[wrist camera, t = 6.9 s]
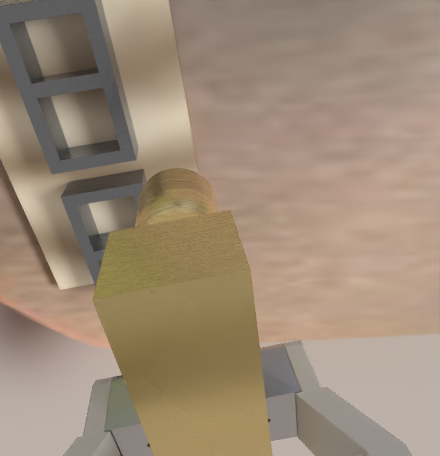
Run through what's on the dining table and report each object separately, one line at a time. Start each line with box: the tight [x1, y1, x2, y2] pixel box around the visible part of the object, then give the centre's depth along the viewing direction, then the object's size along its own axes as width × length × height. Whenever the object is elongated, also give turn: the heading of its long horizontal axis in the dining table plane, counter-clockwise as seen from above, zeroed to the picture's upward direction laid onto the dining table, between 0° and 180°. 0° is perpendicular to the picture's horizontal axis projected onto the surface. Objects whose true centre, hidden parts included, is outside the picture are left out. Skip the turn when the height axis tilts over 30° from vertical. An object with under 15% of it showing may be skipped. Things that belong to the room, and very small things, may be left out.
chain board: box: [0, 0, 199, 290], centre depth 27 cm, size 20×13×1 cm, turn 8°
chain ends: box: [0, 0, 147, 286], centre depth 26 cm, size 20×5×2 cm, turn 8°
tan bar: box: [92, 168, 272, 456], centre depth 12 cm, size 10×3×6 cm, turn 8°
